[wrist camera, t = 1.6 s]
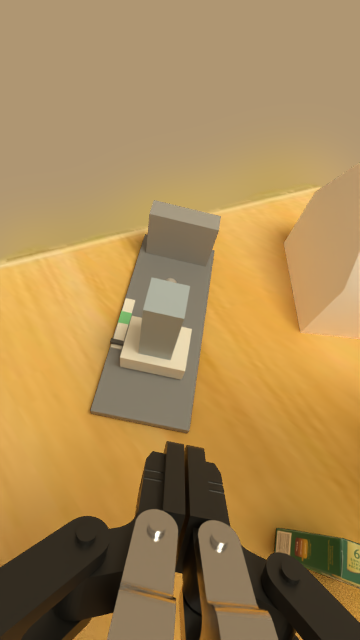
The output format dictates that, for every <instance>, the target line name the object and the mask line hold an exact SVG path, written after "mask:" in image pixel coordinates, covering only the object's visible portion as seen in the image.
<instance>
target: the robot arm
mask: <svg viewBox="0 0 360 640" xmlns="http://www.w3.org/2000/svg"><path fill="white" fill-rule="evenodd" d="M222 484H223V483H222V477H221V473H220V471H219V470H218V468H217V467H216V465H215V464H214V463H209V462H206V461H205V452H204V448H199V447H194V446H189V445H186V447H185V451H184V444H179V443H174V442H169V441H167V442H166V445H165V449H164V453H159V452H154V451H152V453H151V454H150V455H149V456H148V457H147V459H146V462H145V467H144V471H143V475H142V479H141V484H140V488H139V493H138V499H137V505H136V511H135V517H134V519H133V520H132V521H131V522H130V523H129V524H127V525H125V526H122V527H118V528H112V529H108V527H107V525H106V524H105V523H104V522H103V521H102V520H100V519H98V518H96V517H92V516H83V517H79V518H76V519H74V520H72V521H71V522H69V523H68V524H66V525H65V526H63V527H62V528H60V529H58V530H57V531H55V532H54V533H52V534H51V535H49V536H48V537H46V538H45V539H43V540H42V541H40V542H39V543H37V544H35V545H34V546H32V547H31V548H29V549H28V550H26V551H25V552H23V553H22V554H20V555H19V556H17V557H16V558H14V559H12V560H11V561H9V562H8V563H6V564H5V565H3V566H2V567H0V640H72V639H73V638H74V637H75V636H76V635H77V634H78V633H79V632H80V631H81V630H82V629H83V628H84V627H85V626H86V625H87V624H88V623H89V621H90V620H91V618H92V617H96V616H101V615H105V614H109V613H113V612H114V613H113V617H112V621H111V625H110V629H109V634H108V638H107V640H174V626H175V612H176V599H175V598H174V597H173V589H174V577H175V572H177V573H182V574H183V584H182V588H181V591H180V595H179V612H180V630H181V640H299V639H298V638H297V636H296V635H295V633H296V631H297V633H298V634H299V635H300V636H301V638H302V639H303V640H360V623H359V622H358V621H357V620H356V619H355V618H354V617H353V616H352V615H351V614H350V613H349V612H348V611H347V610H346V609H345V608H344V606H343V605H342V604H341V603H340V602H339V601H338V600H337V599H336V598H335V597H334V596H333V595H332V594H331V593H330V592H329V591H328V590H327V589H326V588H325V587H324V586H323V585H322V584H321V583H320V582H319V581H318V580H317V579H316V578H315V577H314V576H313V575H312V574H311V573H310V572H309V571H308V570H307V569H306V568H305V567H304V566H303V565H302V564H301V563H300V562H299V561H298V560H296V559H295V558H294V557H292V556H290V555H288V554H285V553H281V552H276V553H273V554H271V555H270V556H269V557H268V559H267V560H265V559H263V558H261V557H259V556H257V555H255V554H253V553H252V552H250V551H248V550H247V549H245V548H244V547H243V546H242V545H241V544H240V540H239V538H238V536H237V534H236V533H235V531H234V530H233V529H232V528H231V527H230V523H229V517H228V511H227V506H226V500H225V494H224V489H223V486H222Z"/></svg>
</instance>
